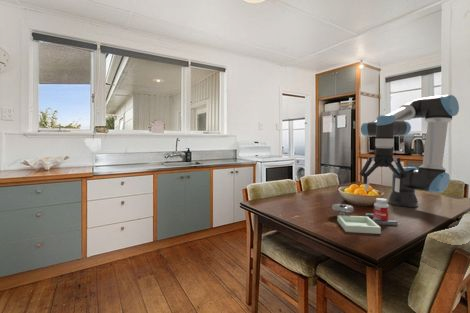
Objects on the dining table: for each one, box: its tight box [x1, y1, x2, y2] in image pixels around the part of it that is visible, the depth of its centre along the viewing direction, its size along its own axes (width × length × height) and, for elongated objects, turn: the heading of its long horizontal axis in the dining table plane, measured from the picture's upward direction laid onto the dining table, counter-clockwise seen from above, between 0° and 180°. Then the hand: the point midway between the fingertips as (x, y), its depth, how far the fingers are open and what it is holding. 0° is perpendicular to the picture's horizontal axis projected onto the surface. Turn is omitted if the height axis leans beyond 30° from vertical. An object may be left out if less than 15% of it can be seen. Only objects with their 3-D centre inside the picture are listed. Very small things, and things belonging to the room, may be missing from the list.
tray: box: [336, 214, 382, 235], centre depth 109 cm, size 14×14×3 cm
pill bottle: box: [372, 197, 390, 220], centre depth 116 cm, size 6×6×11 cm
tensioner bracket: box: [364, 213, 399, 227], centre depth 117 cm, size 10×11×2 cm
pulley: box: [331, 203, 354, 216], centre depth 122 cm, size 10×10×6 cm
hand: (381, 191), depth 115 cm, fingers open, 13 cm apart
